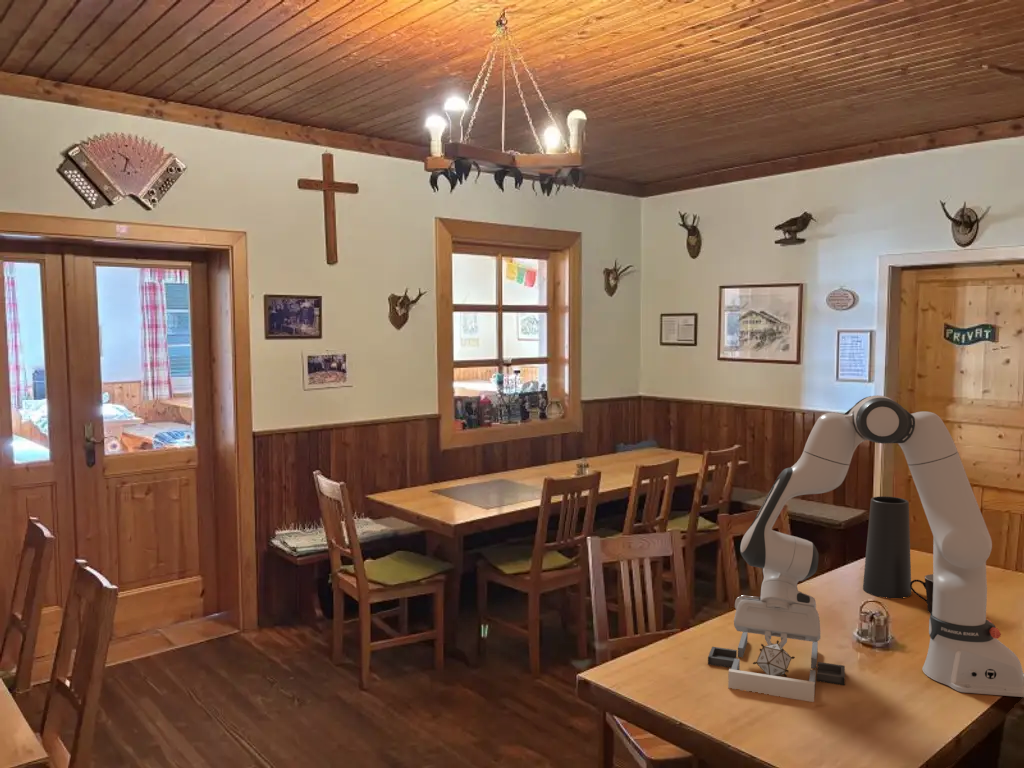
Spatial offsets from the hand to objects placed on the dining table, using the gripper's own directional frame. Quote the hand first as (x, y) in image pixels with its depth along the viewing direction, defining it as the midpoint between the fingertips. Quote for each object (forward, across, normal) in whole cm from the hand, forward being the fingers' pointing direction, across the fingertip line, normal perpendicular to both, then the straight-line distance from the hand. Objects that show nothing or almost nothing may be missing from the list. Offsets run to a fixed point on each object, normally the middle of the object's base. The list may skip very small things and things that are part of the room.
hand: (774, 652), depth 193 cm
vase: (-48, +28, +55) cm, 78 cm away
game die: (+6, 0, 0) cm, 6 cm away
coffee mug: (-38, +40, +45) cm, 71 cm away
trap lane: (+2, 0, +4) cm, 5 cm away
